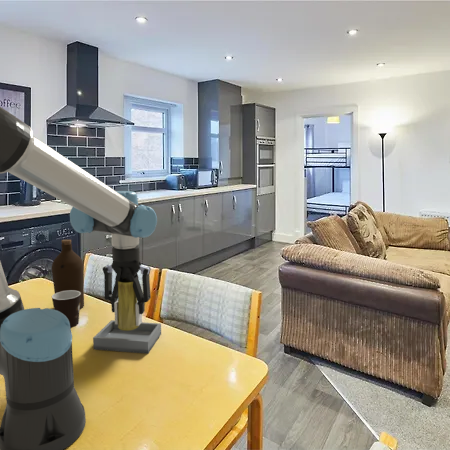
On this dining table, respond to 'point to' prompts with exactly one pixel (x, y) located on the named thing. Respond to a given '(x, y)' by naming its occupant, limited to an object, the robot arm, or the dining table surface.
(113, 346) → the tray
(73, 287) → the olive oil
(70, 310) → the coffee mug
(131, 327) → the vase
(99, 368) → the dining table surface
